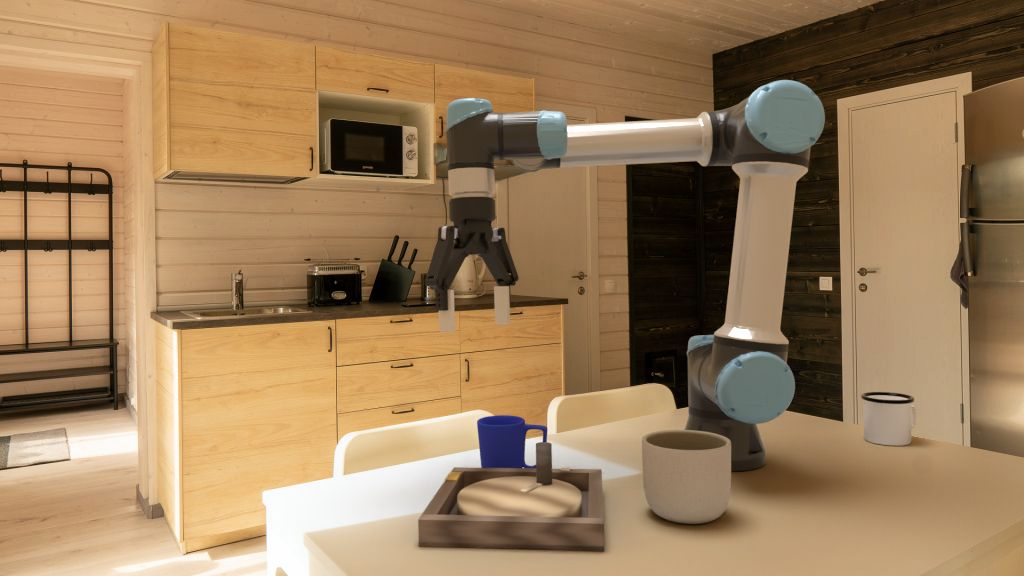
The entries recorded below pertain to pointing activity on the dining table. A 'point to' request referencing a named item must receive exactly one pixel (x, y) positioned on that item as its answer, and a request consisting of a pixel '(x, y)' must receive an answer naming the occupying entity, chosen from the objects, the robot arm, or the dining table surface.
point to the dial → (523, 493)
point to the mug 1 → (504, 441)
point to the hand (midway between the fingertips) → (476, 328)
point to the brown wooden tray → (514, 531)
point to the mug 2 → (888, 418)
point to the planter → (686, 474)
